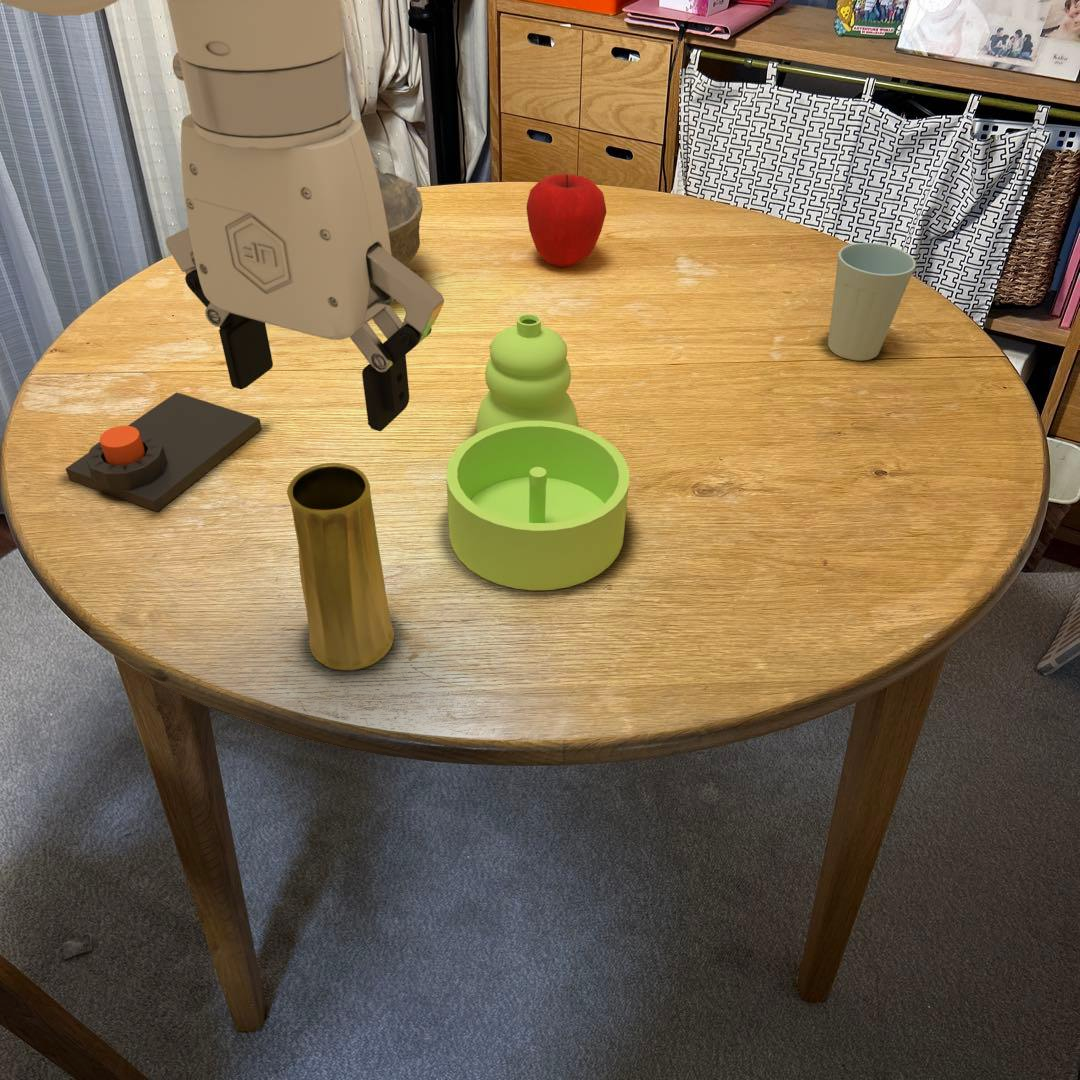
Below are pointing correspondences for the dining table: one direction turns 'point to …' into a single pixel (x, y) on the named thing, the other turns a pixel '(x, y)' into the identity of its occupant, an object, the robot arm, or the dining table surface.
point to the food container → (534, 474)
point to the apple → (565, 218)
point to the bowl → (401, 215)
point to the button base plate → (168, 451)
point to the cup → (866, 297)
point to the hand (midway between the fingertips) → (319, 397)
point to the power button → (122, 445)
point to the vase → (340, 566)
